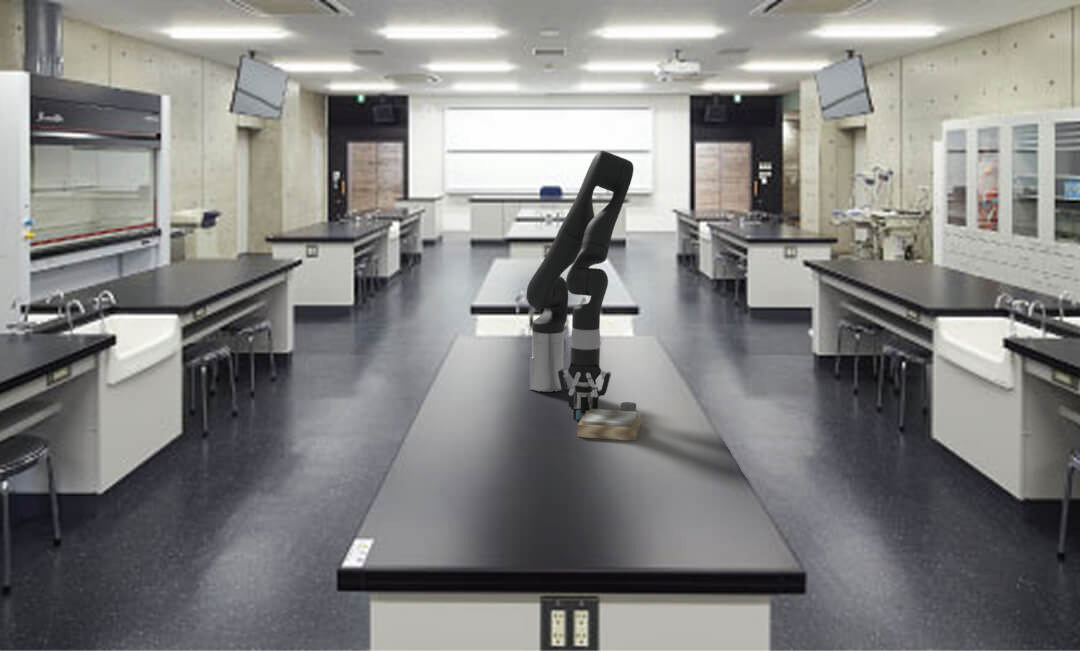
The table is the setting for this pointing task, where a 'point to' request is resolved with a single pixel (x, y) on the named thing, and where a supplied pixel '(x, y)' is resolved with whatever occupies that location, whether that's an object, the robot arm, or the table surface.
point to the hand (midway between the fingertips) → (583, 409)
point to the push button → (582, 399)
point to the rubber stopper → (628, 406)
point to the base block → (609, 424)
